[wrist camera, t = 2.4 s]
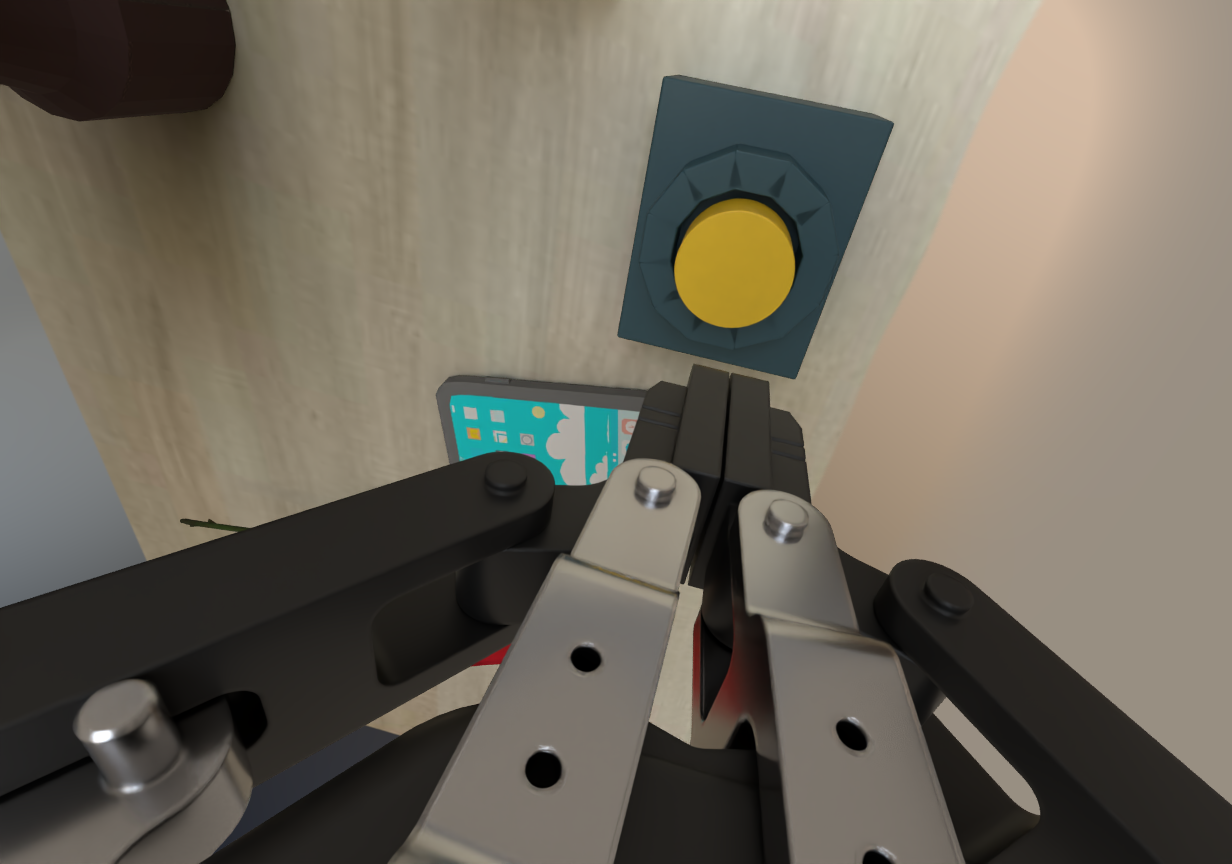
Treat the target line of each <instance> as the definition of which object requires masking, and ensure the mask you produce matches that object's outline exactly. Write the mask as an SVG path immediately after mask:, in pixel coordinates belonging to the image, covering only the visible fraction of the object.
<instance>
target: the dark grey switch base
mask: <svg viewBox="0 0 1232 864" xmlns="http://www.w3.org/2000/svg"><path fill="white" fill-rule="evenodd" d="M893 126H894V123H893V122H892V121H889V120H887V119H885V118H882V117H880V116H877V115H875V114H872V113H867V112H862V111H857V110H852V109H847V108H842V107H837V106H832V105H827V104H822V103H817V102H812V101H807V100H802V99H797V98H792V97H787V96H782V95H777V94H772V93H767V92H762V91H757V90H752V89H747V88H742V87H737V86H732V85H727V84H722V83H717V82H712V81H707V80H702V79H697V78H692V77H687V76H682V75H674V76H665V77H664V78H663V81H662V87H661V92H660V98H659V104H658V109H657V115H656V120H655V126H654V132H653V137H652V143H651V149H650V154H649V160H648V165H647V171H646V177H645V182H644V188H643V194H642V199H641V205H640V211H639V216H638V222H637V227H636V233H635V239H634V244H633V250H632V256H631V261H630V267H629V272H628V278H627V284H626V289H625V295H624V301H623V306H622V312H621V318H620V323H619V329H618V334H617V335H618V337H620V338H624V339H628V340H633V341H637V342H641V343H645V344H649V345H653V346H658V347H662V348H666V349H670V350H674V351H678V352H682V353H687V354H691V355H695V356H699V357H703V358H707V359H711V360H716V361H720V362H724V363H728V364H732V365H736V366H741V367H745V368H749V369H753V370H757V371H761V372H765V373H770V374H774V375H778V376H782V377H786V378H790V379H795V378H796V377H797V374H798V372H799V369H800V367H801V364H802V361H803V359H804V356H805V354H806V351H807V348H808V346H809V343H810V341H811V338H812V336H813V333H814V330H815V328H816V325H817V323H818V320H819V317H820V315H821V312H822V310H823V307H824V305H825V302H826V299H827V297H828V294H829V292H830V289H831V286H832V284H833V281H834V279H835V276H836V273H837V271H838V268H839V266H840V263H841V261H842V258H843V255H844V253H845V250H846V248H847V245H848V242H849V240H850V237H851V235H852V232H853V230H854V227H855V224H856V222H857V219H858V217H859V214H860V211H861V209H862V206H863V204H864V201H865V198H866V196H867V193H868V191H869V188H870V186H871V183H872V180H873V178H874V175H875V173H876V170H877V167H878V165H879V162H880V160H881V157H882V155H883V152H884V149H885V147H886V144H887V142H888V139H889V136H890V134H891V131H892V129H893ZM736 198H738V199H750V200H754V201H758V202H760V203H762V204H765V205H766V206H768V207H769V208H771V209H772V210H773V211H775V212H776V213H777V214H778V215H779V216H780V218H781V219H782V220H783V222H784V223H785V225H786V227H787V229H788V231H789V234H790V237H791V241H792V247H793V252H794V258H795V274H794V280H793V283H792V286H791V289H790V291H789V293H788V295H787V297H786V298H785V300H784V301H783V303H782V304H781V305H780V306H779V307H778V308H777V309H776V310H775V311H774V312H773V313H772V314H771V315H769V316H768V317H767V318H765V319H763V320H762V321H759V322H757V323H755V324H752V325H749V326H745V327H739V328H725V327H719V326H715V325H712V324H709V323H707V322H705V321H703V320H701V319H700V318H698V317H697V316H696V315H694V314H693V313H692V312H691V311H690V310H689V309H688V308H687V307H686V305H685V304H684V303H683V301H682V299H681V297H680V295H679V293H678V290H677V287H676V283H675V276H674V266H675V260H676V256H677V252H678V250H679V248H680V245H681V243H682V241H683V238H684V236H685V234H686V232H687V230H688V228H689V226H690V225H691V223H692V222H693V221H694V219H695V218H696V217H697V216H698V215H699V214H700V213H701V212H703V211H704V210H705V209H707V208H708V207H710V206H712V205H714V204H716V203H718V202H721V201H724V200H728V199H736Z"/></svg>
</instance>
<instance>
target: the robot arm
mask: <svg viewBox="0 0 1232 864" xmlns="http://www.w3.org/2000/svg"><path fill="white" fill-rule="evenodd" d="M803 446H804V441H803V434H802V428H801V427H800V426H799V424H798V423H797V422H796V420H795V419H794V418H793V416H792V415H791V414H790V412H788V411H783V410H779V409H775V408H771V407H770V393H769V382H768V381H764V380H760V379H756V378H752V377H748V376H744V375H739V374H735V373H731V375H730V378H729V372H727V371H722V370H718V369H714V368H710V367H706V366H702V365H697V364H693V366H692V370H691V373H690V377H689V381H688V384H687V387H685V386H681V385H677V384H672V383H668V382H664V381H660V382H659V383H658V384H656V385H655V386H653V387H652V388H650V389H649V390H647V392H646V395H645V398H644V401H643V404H642V408H641V410H640V413H639V416H638V420H637V422H636V425H635V428H634V431H633V434H632V437H631V440H630V442H629V445H628V448H627V451H626V454H625V457H624V460H623V462H622V463H621V464H619V465H617V466H616V467H615V468H614V469H613V470H612V472H611V473H610V475H609V477H608V479H607V480H604V481H602V482H599V483H595V484H589V485H555V480H554V476H553V475H552V473H551V471H550V470H549V469H548V468H547V466H545V465H544V464H543V463H542V462H540V461H538V460H537V459H535V458H533V457H530V456H528V455H524V454H521V453H515V452H506V451H503V452H490V453H486V454H482V455H478V456H475V457H472V458H469V459H466V460H463V461H460V462H456V463H453V464H450V465H447V466H444V467H441V468H438V469H434V470H431V471H428V472H425V473H422V474H419V475H416V476H413V477H409V478H406V479H403V480H400V481H397V482H394V483H391V484H387V485H384V486H381V487H378V488H375V489H372V490H369V491H365V492H362V493H359V494H356V495H353V496H350V497H347V498H344V499H340V500H337V501H334V502H331V503H328V504H325V505H322V506H318V507H315V508H312V509H309V510H306V511H303V512H300V513H297V514H293V515H290V516H287V517H284V518H281V519H278V520H275V521H271V522H268V523H265V524H262V525H259V526H256V527H253V528H249V529H246V530H243V531H240V532H237V533H234V534H231V535H228V536H224V537H221V538H218V539H215V540H212V541H209V542H206V543H202V544H199V545H196V546H193V547H190V548H187V549H184V550H180V551H177V552H174V553H171V554H168V555H165V556H162V557H159V558H155V559H152V560H149V561H146V562H143V563H140V564H137V565H134V566H130V567H127V568H124V569H121V570H118V571H115V572H112V573H108V574H105V575H102V576H99V577H96V578H93V579H90V580H87V581H83V582H80V583H77V584H74V585H71V586H68V587H64V588H62V589H59V590H55V591H52V592H49V593H46V594H43V595H40V596H36V597H33V598H30V599H27V600H24V601H21V602H17V603H15V604H11V605H8V606H5V607H2V608H0V864H1232V805H1231V804H1230V803H1229V802H1228V801H1226V800H1225V799H1224V798H1223V797H1222V796H1221V795H1219V794H1218V793H1217V792H1216V791H1215V790H1214V789H1212V788H1211V787H1210V786H1209V785H1208V784H1206V783H1205V782H1204V781H1203V780H1202V779H1201V778H1200V777H1198V776H1197V775H1196V774H1195V773H1194V772H1192V771H1191V770H1190V769H1189V768H1188V767H1187V766H1186V765H1184V764H1183V763H1182V762H1181V761H1180V760H1179V759H1177V758H1176V757H1175V756H1174V755H1173V754H1172V753H1170V752H1169V751H1168V750H1167V749H1166V748H1165V747H1163V746H1162V745H1161V744H1160V743H1159V742H1157V741H1156V740H1155V739H1154V738H1153V737H1152V736H1150V735H1149V734H1148V733H1147V732H1146V731H1145V730H1144V729H1142V728H1141V727H1140V726H1139V725H1138V724H1137V723H1135V722H1134V721H1133V720H1132V719H1131V718H1129V717H1128V716H1127V715H1126V714H1125V713H1124V712H1123V711H1121V710H1120V709H1119V708H1118V707H1117V706H1116V705H1114V704H1113V703H1112V702H1111V701H1110V700H1109V699H1107V698H1106V697H1105V696H1104V695H1103V694H1102V693H1100V692H1099V691H1098V690H1097V689H1096V688H1095V687H1093V686H1092V685H1091V684H1090V683H1089V682H1087V681H1086V680H1085V679H1084V678H1083V677H1082V676H1080V675H1079V674H1078V673H1077V672H1076V671H1075V670H1074V669H1072V668H1071V667H1070V666H1069V665H1068V664H1067V663H1065V662H1064V661H1063V660H1062V659H1061V658H1060V657H1058V656H1057V655H1056V654H1055V653H1054V652H1053V651H1051V650H1050V649H1049V648H1048V647H1047V646H1046V645H1044V644H1043V643H1042V642H1041V641H1040V640H1039V639H1037V638H1036V637H1035V636H1034V635H1033V634H1031V633H1030V632H1029V631H1028V630H1027V629H1026V628H1025V627H1023V626H1022V625H1021V624H1020V623H1019V622H1018V621H1016V620H1015V619H1014V618H1013V617H1012V616H1010V615H1009V614H1008V613H1007V612H1006V611H1005V610H1004V609H1002V608H1001V607H1000V606H999V605H998V604H997V603H995V602H994V601H993V600H992V599H991V598H990V597H988V596H987V595H986V594H985V593H984V592H982V591H981V590H980V589H979V588H978V587H976V585H974V584H973V583H972V582H971V581H969V580H968V579H966V578H965V577H963V576H962V575H960V574H959V573H957V572H955V571H953V570H951V569H949V568H947V567H945V566H943V565H940V564H937V563H934V562H930V561H926V560H919V559H909V560H905V561H901V562H899V563H897V564H896V565H895V566H894V567H893V569H892V570H891V572H890V574H889V575H888V574H886V573H883V572H881V571H880V570H878V569H876V568H873V567H871V566H869V565H867V564H865V563H863V562H861V561H859V560H857V559H855V558H853V557H852V556H850V555H848V554H847V553H845V552H844V551H842V550H841V549H839V548H838V547H837V545H836V542H835V538H834V534H833V531H832V528H831V525H830V524H829V522H828V520H827V519H826V518H825V517H824V515H823V514H822V513H821V512H820V511H819V510H818V509H816V508H815V507H814V506H812V504H811V496H810V488H809V480H808V473H807V465H806V462H805V459H806V457H805V449H804V448H803ZM690 565H691V566H690ZM689 568H690V574H689V581H688V585H689V586H693V587H696V588H700V589H703V599H702V605H701V608H700V610H699V613H698V616H697V618H696V621H695V624H694V630H693V679H692V728H691V741H690V745H689V744H687V743H685V742H683V741H681V740H680V739H678V738H676V737H674V736H673V735H671V734H669V733H667V732H666V731H664V730H662V729H660V728H659V727H657V726H655V725H654V724H652V723H650V722H649V718H650V714H651V709H652V705H653V701H654V697H655V693H656V689H657V685H658V681H659V677H660V673H661V669H662V665H663V661H664V657H665V653H666V649H667V645H668V641H669V637H670V633H671V629H672V625H673V620H674V616H675V612H676V608H677V604H678V600H679V594H680V592H679V591H678V589H679V585H680V583H681V584H684V583H685V580H686V577H687V574H688V571H689ZM509 644H511V645H510V647H509V649H508V651H507V653H506V654H505V656H504V658H503V660H502V662H501V664H500V666H499V668H498V670H497V672H496V674H495V675H494V677H493V679H492V681H491V683H490V685H489V687H488V689H487V691H486V693H485V695H484V696H483V698H482V700H481V702H480V704H476V705H471V706H467V707H462V708H459V709H456V710H453V711H450V712H447V713H444V714H441V715H438V716H436V717H434V718H432V719H430V720H428V721H426V722H424V723H422V724H419V725H417V726H416V727H414V728H412V729H411V730H409V731H407V732H405V733H404V734H402V735H401V736H399V737H398V738H396V739H394V740H393V741H391V742H390V743H388V744H386V745H385V746H383V747H382V748H380V749H379V750H377V751H375V752H374V753H372V754H371V755H369V756H368V757H366V758H364V759H363V760H362V761H360V762H358V763H356V764H355V765H353V766H352V767H350V768H349V769H347V770H345V771H344V772H342V773H341V774H339V775H338V776H336V777H335V778H333V779H331V780H330V781H328V782H327V783H325V784H323V785H322V786H320V787H319V788H317V789H316V790H314V791H312V792H311V793H309V794H308V795H306V796H305V797H303V798H301V799H300V800H298V801H297V802H295V803H294V804H292V805H290V806H289V807H287V808H286V809H284V810H283V811H281V812H279V813H278V814H276V815H275V816H273V817H271V818H270V819H268V820H267V821H265V822H264V823H262V824H261V825H259V826H258V827H256V828H254V829H253V830H251V831H250V832H248V833H247V834H245V835H243V836H242V837H240V838H239V839H237V840H235V841H234V842H232V843H230V844H229V845H227V846H226V847H224V848H223V849H221V850H220V851H218V852H216V853H215V854H213V855H212V853H213V852H214V851H215V850H216V849H217V848H218V847H219V846H220V845H221V844H222V843H223V842H224V840H226V838H227V837H228V836H229V835H230V834H231V833H232V831H233V830H234V828H235V827H236V825H237V824H238V823H239V821H240V819H241V817H242V815H243V813H244V811H245V810H246V808H247V805H248V802H249V799H250V797H251V791H252V788H254V787H255V786H257V785H259V784H261V783H263V782H264V781H266V780H268V779H270V778H272V777H273V776H275V775H277V774H279V773H281V772H282V771H284V770H286V769H288V768H290V767H291V766H293V765H295V764H297V763H299V762H300V761H302V760H304V759H306V758H307V757H309V756H311V755H313V754H315V753H316V752H318V751H320V750H322V749H324V748H325V747H327V746H329V745H331V744H333V743H334V742H336V741H338V740H339V739H341V738H343V737H345V736H346V735H349V734H350V733H352V732H354V731H356V730H357V729H359V728H361V727H363V726H365V725H366V724H368V723H370V722H372V721H374V720H375V719H377V718H379V717H381V716H383V715H384V714H386V713H388V712H390V711H391V710H393V709H395V708H397V707H399V706H400V705H402V704H404V703H406V702H408V701H409V700H411V699H413V698H415V697H416V696H418V695H420V694H422V693H424V692H425V691H427V690H429V689H431V688H433V687H434V686H436V685H438V684H440V683H441V682H443V681H445V680H447V679H449V678H450V677H452V676H454V675H456V674H458V673H459V672H461V671H463V670H465V669H466V668H468V667H470V666H472V665H474V664H475V663H477V662H479V661H481V660H483V659H484V658H486V657H488V656H490V655H491V654H493V653H495V652H497V651H499V650H500V649H502V648H504V647H506V646H508V645H509ZM946 697H947V698H948V699H949V700H950V701H951V702H952V703H953V704H954V705H955V706H956V707H957V708H958V709H959V710H960V711H961V712H962V713H963V714H964V716H965V717H966V718H967V719H968V720H969V721H970V722H971V723H972V724H973V725H974V726H975V727H976V728H977V729H978V730H979V731H980V733H982V735H983V736H984V737H985V738H986V739H987V740H988V741H989V742H990V743H991V744H992V745H993V746H994V747H995V748H996V749H997V750H998V752H999V753H1000V754H1001V755H1002V756H1003V757H1004V758H1005V759H1006V760H1007V761H1008V762H1009V763H1010V764H1011V765H1012V766H1013V767H1014V768H1015V769H1016V771H1017V772H1018V773H1019V774H1020V775H1021V776H1022V777H1023V778H1024V779H1025V780H1026V782H1027V783H1028V784H1029V786H1030V787H1031V788H1032V790H1033V792H1034V794H1035V795H1036V798H1037V800H1038V803H1039V807H1040V815H1035V814H1032V813H1030V812H1028V811H1026V810H1024V809H1023V808H1021V807H1020V806H1018V805H1017V804H1016V803H1015V802H1014V801H1013V800H1012V799H1011V798H1010V797H1009V796H1008V795H1007V794H1006V793H1005V792H1004V791H1003V790H1002V788H1001V787H1000V786H999V785H998V784H997V783H996V782H995V781H994V780H993V779H992V777H991V776H989V774H988V773H987V772H986V771H985V770H984V769H983V768H982V767H981V765H979V763H978V762H977V761H976V760H975V759H974V758H973V757H972V755H971V754H970V753H969V752H968V751H967V750H966V749H965V748H964V747H963V746H962V744H961V743H960V742H959V741H958V740H957V739H956V738H955V737H954V736H953V735H952V733H951V732H950V731H949V730H948V729H947V728H946V727H945V726H944V725H943V724H942V722H941V721H940V720H939V719H938V718H937V717H936V716H935V715H934V714H933V712H934V711H935V710H936V709H937V707H938V706H939V705H940V704H941V703H942V702H943V700H944V699H945V698H946ZM211 855H212V856H211Z"/></svg>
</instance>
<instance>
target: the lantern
mask: <svg viewBox="0 0 1232 864" xmlns="http://www.w3.org/2000/svg"><path fill="white" fill-rule="evenodd" d="M234 53H235V41H234V35H233V29H232V23H231V17H230V11H229V9H228V6H227V3H226V1H225V0H0V84H2V85H6V86H9V87H10V88H11V89H12V90H14V91H15V92H16V93H17V94H18V95H20V96H21V97H22V98H24V99H26V100H27V101H29V102H31V103H32V104H34V105H36V106H38V107H39V108H41V109H43V110H45V111H46V112H48V113H50V114H52V115H55V116H59V117H63V118H67V119H71V120H75V121H90V120H102V119H114V118H126V117H138V116H150V115H162V114H174V113H186V112H192V111H198V110H203V109H207V108H208V107H210V106H211V105H212V104H213V103H215V102H216V101H217V100H218V99H220V98H221V97H222V96H223V94H224V92H225V90H226V88H227V85H228V83H229V81H230V79H231V77H232V75H233V64H234Z"/></svg>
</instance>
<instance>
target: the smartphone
mask: <svg viewBox="0 0 1232 864" xmlns="http://www.w3.org/2000/svg"><path fill="white" fill-rule="evenodd" d="M646 392H647V391H642V390H631V389H619V388H607V387H595V386H583V385H571V384H560V383H548V382H536V381H524V380H512V379H505V378H493V377H477V376H454V377H449V378H448V379H447V380H446V381H445V382H444V383H443V384H442V385H441V386H440V387H439V388H438V390H437V393H436V399H437V404H438V409H439V414H440V419H441V424H442V429H443V433H444V438H445V443H446V448H447V453H448V458H449V463H450V464H453V463H456V462H460V461H463V460H466V459H469V458H472V457H475V456H478V455H482V454H486V453H490V452H503V451H506V452H515V453H521V454H524V455H528V456H530V457H533V458H535V459H537V460H538V461H540V462H542V463H543V464H544V465H545V466H547V468H548V469H549V470H550V471H551V473H552V475H553V476H554V480H555V485H589V484H595V483H599V482H602V481H604V480H607V479H608V477H609V475H610V473H611V472H612V470H613V469H614V468H615V467H616V466H617V465H619V464H621V463H622V462H623V460H624V457H625V454H626V451H627V448H628V445H629V442H630V440H631V437H632V434H633V431H634V428H635V425H636V422H637V420H638V416H639V413H640V410H641V408H642V404H643V401H644V398H645V395H646Z"/></svg>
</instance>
